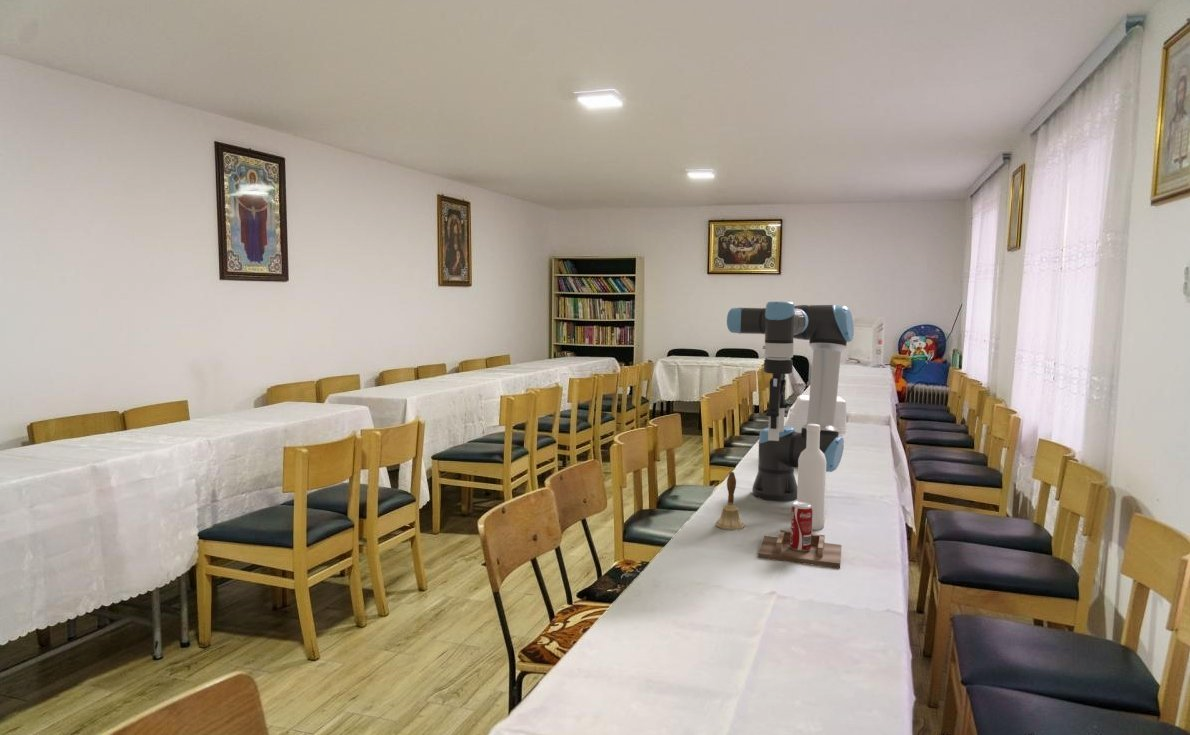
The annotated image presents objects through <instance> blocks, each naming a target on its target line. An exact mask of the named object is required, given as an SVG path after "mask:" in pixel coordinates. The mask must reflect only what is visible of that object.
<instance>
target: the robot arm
mask: <svg viewBox="0 0 1190 735" xmlns="http://www.w3.org/2000/svg"><path fill="white" fill-rule="evenodd" d="M765 305H766V306H765V307H763V308H762V307H732V308H730V309H729V311H728V313H727V316H726V327H727V330H728V331H729V332H730V333H732V334H739V335H741V334H747V335H748V334H749V335H750V334H751V335H755V334H756V335H764V345H762V347H761V348H762V350H764V357H765V359H764V360H763V371H764V373H765V374H771V375H772V376H771V377H772V378H770V379H769V397H768V398H769V399H768V408H767V409H768V410H767V412H765V416H766V417H768V425H767V426H768V427H765V428H763V429H762V430H760V432H759V438H758V439H759V440H758V442H757V444H758V461H757V462H758V468H757V470H758V471H757V474H756V477H755V479H754V481H753V484H752V488H751V489H752V490H751V491H752V492H751V493H752V496H753V497H756V498H758V499H761V500H766V501H770V502H771V501H772V502H773V501H774V502H791V501H794V500H797V486H798V482H797V480H796V478H795V472H794V471H795V468H796V469H798V459H799V456H800V454H801V452H802V451H803V450H804V449H806V440H807V430H806V428H807V425H808V424H818V425H820V442H819V449H820V450H821V451H822V452H823V453H824V455H825V458H826V473H827V472H829V473H830V472H835V471H836V469H838V467H839V465H840V463H841V461H842V457H843V453H844V450H845V449H844V446H845V444H844V443H845V440H844V438H843V436H842V437H840V436H839V430H838V429H837V428H836V427H835V414H836V402H837V397H838V389H839V379H840V367H841V366H840V365H841V356H842V355H841V354H842V352H843V351H845V349H847V345H848V344H847V343H850V342H852V341H853V340H854V329H855V328H854V319H853V316H852V312H851V310H850V308H848V307H847V306H846V305H837V304H813V305H812V304H801V305H800V304H798V305H795V303H794V302H793V301H768V302H767V303H766V304H765ZM794 340H801V341H802V340H804V341H809V343H808V344H809V346H810V348H811V349H812V351H813V352H812V363H811V364H812V365H811V375H810V386H809V387H810V388H809V394H808V395H809V406H808V417H807V423H806V424H805V425H804V426H802V430H801V433H799V432H795V431H796V430H795V427H791V426H784V425H785V409H787V408H788V404H786V383H787V379H785V378H786V375H789V374H792V373H793V368H794V365H793V364H794V362H793V359H792V358H793V357H794V346H795V344H794Z"/></svg>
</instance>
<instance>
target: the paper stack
mask: <svg viewBox="0 0 1190 735" xmlns="http://www.w3.org/2000/svg"><path fill="white" fill-rule="evenodd" d="M809 395H810V394H808V395H807V394H804V395H802V394H800V395H798V396H797V398H796V400H795V402H794V405H793V407H792V410H791V411H789V413H788V419H787V420H786V422H784V426H791V427H795V430H796V431H795V432H799V433H801V430H802V426H804V425H805V424H806V423H807V417H808V406H809ZM847 423H848V422H847V402H846V400H845V399H843V398H842V397H841V396H837V402H836V414H835V427H836V428H837V429H838V430H839V436H840V437H842V438H843V436H845V434H846V432H847Z"/></svg>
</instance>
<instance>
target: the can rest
mask: <svg viewBox="0 0 1190 735" xmlns="http://www.w3.org/2000/svg"><path fill="white" fill-rule="evenodd" d="M790 536H791V530H782V529H780V530H779V534H778V536H769V535H764V536H763V539H762V541H761V544H760V546H759V549H758V551H757V558H758V559H759V558H760V559H766V560H774V561H783V562H788V561H789V562H791V563H796V564H797V563H798V564H804V563H805V564H804V565H811V564H813V565H812V566H819V565H820V566H821V567H827V568H834V567H835V569H841V562H842V559H841V558H842V544H837V543H829V542H825V534H817V533H816V534H815V533H812V534H811V549H810V551H808V552H798V551H794V550H792V549H791V547H790ZM820 566H819V567H820Z"/></svg>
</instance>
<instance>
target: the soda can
mask: <svg viewBox="0 0 1190 735" xmlns="http://www.w3.org/2000/svg"><path fill="white" fill-rule="evenodd" d="M812 511H813V510H812V508H811V504H810V503H807V502H797V501H795V502H793V504H792V506H791V514H790V515H791V516H790V517H791V518H790V531H791V536H790V547H791V549H792V550H794V551H798V552H808V551H810V549H811V534H813V533H812V532H813V530H812Z"/></svg>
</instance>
